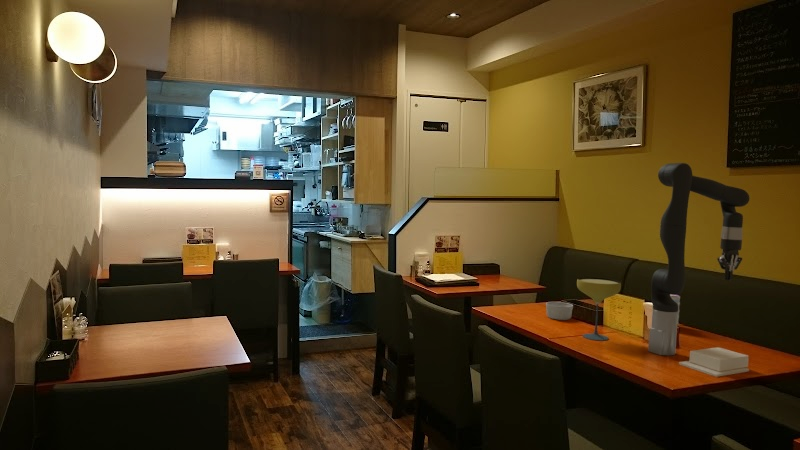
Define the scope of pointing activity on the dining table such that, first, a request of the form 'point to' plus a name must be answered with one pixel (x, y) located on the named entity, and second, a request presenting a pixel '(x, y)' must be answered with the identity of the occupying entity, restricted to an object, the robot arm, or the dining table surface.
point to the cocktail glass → (598, 296)
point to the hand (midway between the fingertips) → (728, 280)
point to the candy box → (677, 300)
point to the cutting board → (710, 371)
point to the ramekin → (559, 310)
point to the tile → (719, 359)
